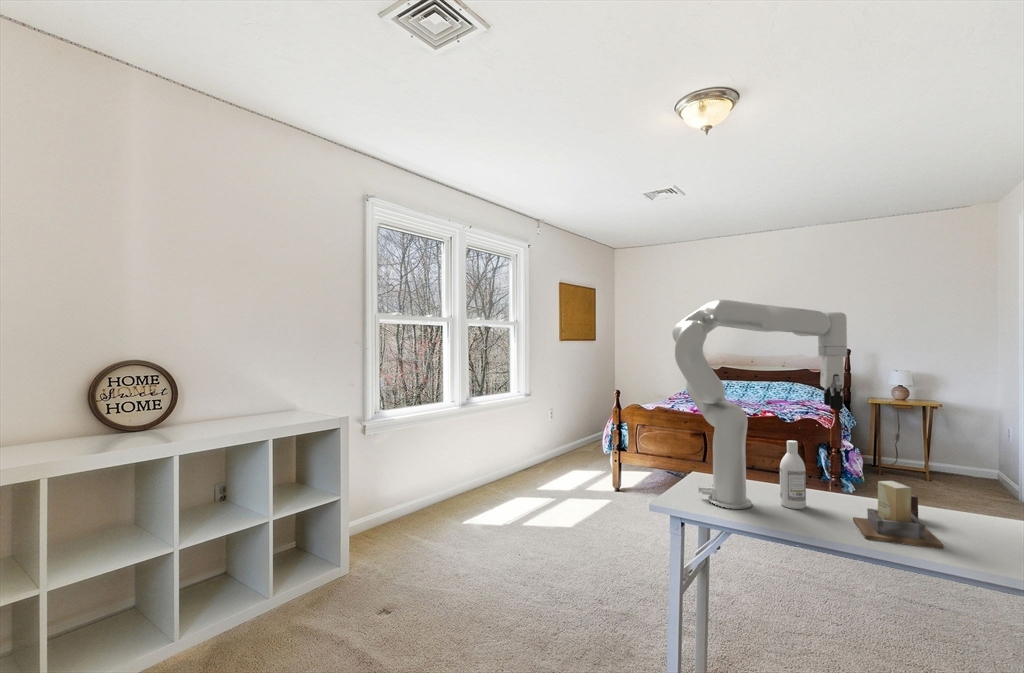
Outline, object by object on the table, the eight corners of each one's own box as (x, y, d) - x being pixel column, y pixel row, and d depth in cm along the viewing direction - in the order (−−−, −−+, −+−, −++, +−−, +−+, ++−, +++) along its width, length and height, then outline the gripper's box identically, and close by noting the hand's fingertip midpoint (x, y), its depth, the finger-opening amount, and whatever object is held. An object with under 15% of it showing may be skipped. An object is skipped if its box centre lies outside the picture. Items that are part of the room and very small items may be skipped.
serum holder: (865, 539, 129) (865, 521, 129) (852, 520, 142) (852, 504, 142) (943, 548, 123) (943, 530, 123) (922, 528, 136) (922, 511, 136)
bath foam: (811, 508, 153) (810, 442, 153) (794, 510, 150) (793, 444, 150) (791, 501, 159) (790, 438, 159) (775, 503, 157) (774, 440, 157)
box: (919, 523, 140) (918, 496, 140) (894, 521, 141) (894, 495, 141) (906, 515, 146) (906, 490, 146) (883, 514, 147) (883, 489, 147)
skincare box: (876, 525, 135) (876, 480, 135) (891, 525, 136) (891, 480, 136) (896, 535, 129) (896, 487, 129) (912, 534, 129) (911, 487, 129)
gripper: (813, 351, 165) (814, 403, 165) (823, 352, 149) (824, 410, 149) (840, 351, 162) (841, 404, 162) (853, 352, 146) (854, 411, 146)
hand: (833, 406), depth 156 cm, fingers open, 9 cm apart
